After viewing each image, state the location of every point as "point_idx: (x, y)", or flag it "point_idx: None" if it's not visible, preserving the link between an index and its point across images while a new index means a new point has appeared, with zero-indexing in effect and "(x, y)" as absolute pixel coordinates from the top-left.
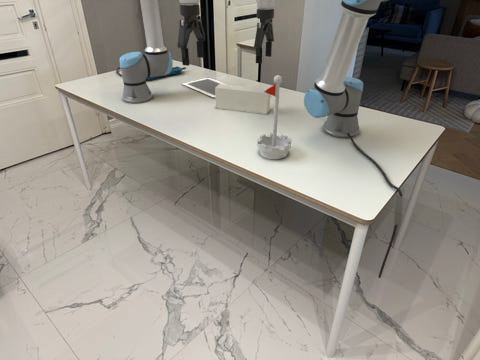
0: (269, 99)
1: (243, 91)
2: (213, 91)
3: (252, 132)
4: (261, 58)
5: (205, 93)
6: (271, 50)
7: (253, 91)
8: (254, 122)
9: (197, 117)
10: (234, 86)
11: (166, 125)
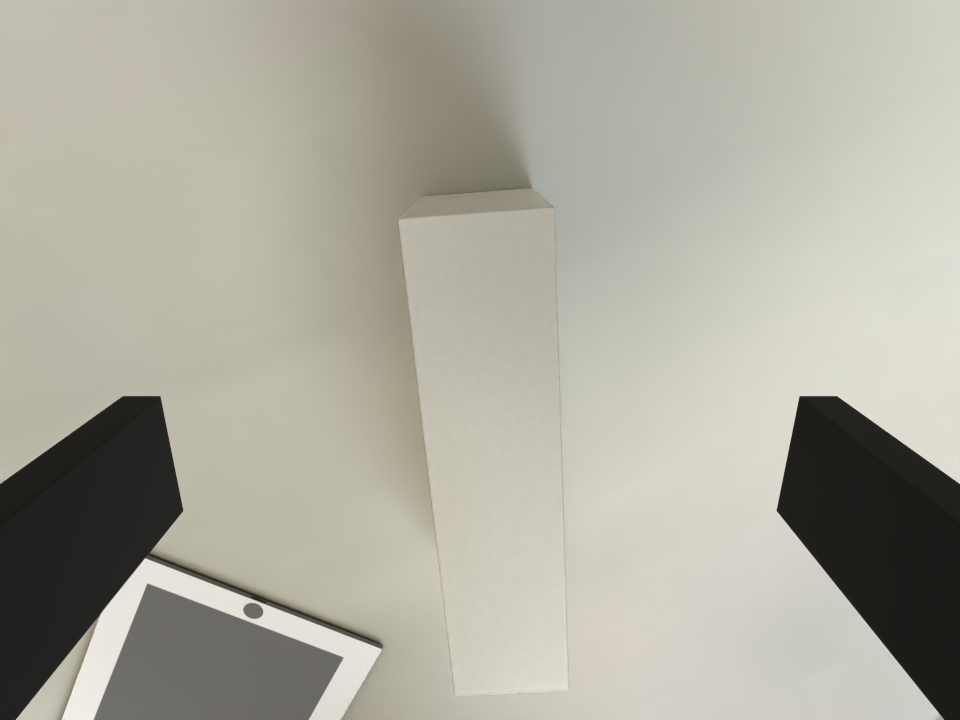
0: (455, 203)
1: (561, 457)
2: (273, 692)
3: (916, 175)
4: (909, 451)
5: (335, 716)
6: (35, 464)
7: (554, 366)
8: (726, 226)
9: (736, 598)
10: (475, 572)
11: (889, 685)
